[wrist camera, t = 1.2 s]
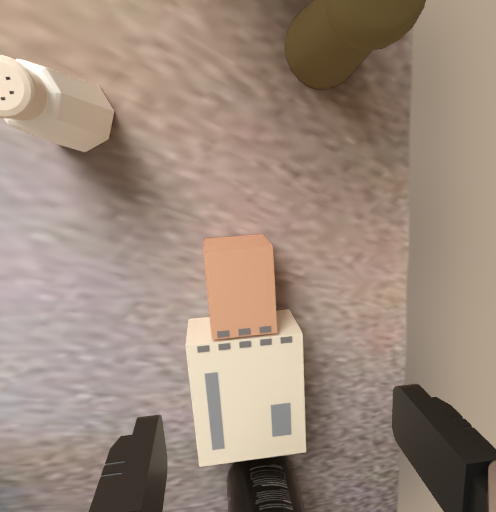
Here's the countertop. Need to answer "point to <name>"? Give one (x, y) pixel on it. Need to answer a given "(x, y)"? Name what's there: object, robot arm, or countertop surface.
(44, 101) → the salt shaker
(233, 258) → the orange box
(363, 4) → the brown pawn
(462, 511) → the robot arm
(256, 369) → the cream box
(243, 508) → the supplement bottle
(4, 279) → the countertop surface
